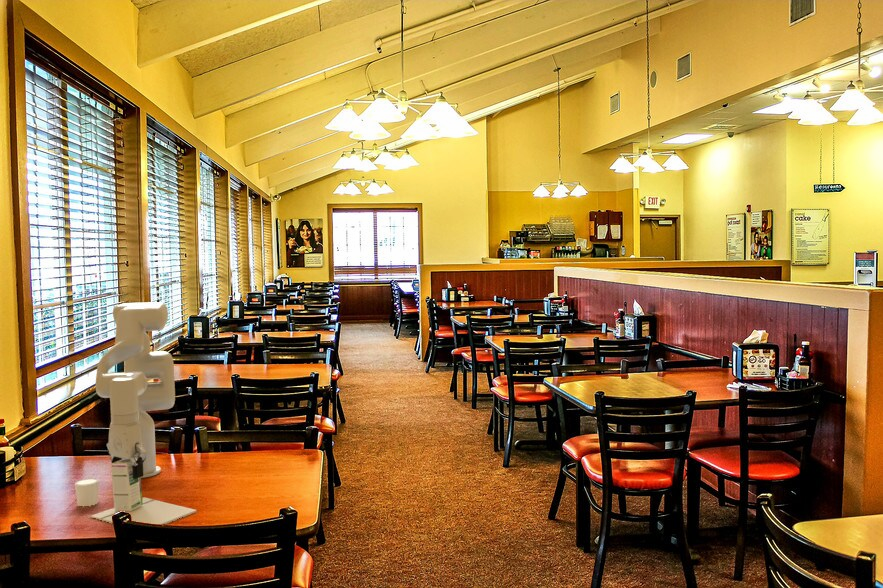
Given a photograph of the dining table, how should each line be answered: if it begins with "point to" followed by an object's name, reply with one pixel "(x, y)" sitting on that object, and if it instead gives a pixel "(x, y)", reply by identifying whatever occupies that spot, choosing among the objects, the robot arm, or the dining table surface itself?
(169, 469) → the dining table surface
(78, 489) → the white short cylinder
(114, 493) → the syrup box
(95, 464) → the dining table surface
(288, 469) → the dining table surface
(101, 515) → the mat
